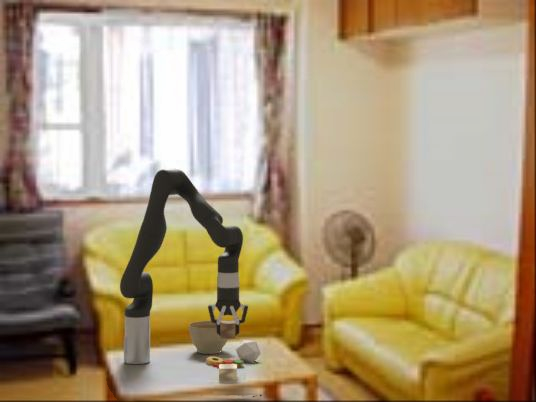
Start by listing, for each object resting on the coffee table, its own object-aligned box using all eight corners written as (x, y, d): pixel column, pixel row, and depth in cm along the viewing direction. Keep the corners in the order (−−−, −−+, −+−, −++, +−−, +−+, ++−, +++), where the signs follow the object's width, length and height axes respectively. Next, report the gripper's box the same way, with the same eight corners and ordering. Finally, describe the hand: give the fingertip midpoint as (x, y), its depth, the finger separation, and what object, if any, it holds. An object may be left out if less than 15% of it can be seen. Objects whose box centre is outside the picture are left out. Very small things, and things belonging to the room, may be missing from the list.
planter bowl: (238, 351, 332) (238, 324, 331) (208, 358, 320) (208, 330, 320) (210, 345, 343) (210, 318, 343) (180, 351, 331) (180, 324, 331)
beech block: (218, 380, 286) (218, 368, 286) (219, 375, 292) (219, 364, 292) (236, 380, 286) (236, 368, 286) (236, 375, 292) (236, 364, 292)
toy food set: (203, 365, 312) (203, 356, 312) (237, 362, 317) (237, 353, 316) (214, 373, 299) (214, 364, 299) (249, 370, 304) (249, 361, 304)
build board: (209, 385, 283) (209, 382, 283) (210, 376, 295) (210, 373, 295) (245, 385, 283) (245, 382, 283) (245, 376, 295) (245, 373, 295)
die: (264, 362, 318) (255, 339, 322) (262, 355, 310) (252, 332, 315) (243, 370, 317) (234, 347, 322) (241, 364, 310) (232, 340, 314)
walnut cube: (220, 338, 286) (220, 323, 285) (220, 335, 291) (220, 321, 290) (235, 338, 286) (235, 323, 285) (235, 335, 291) (235, 320, 290)
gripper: (206, 286, 283) (206, 337, 284) (249, 286, 284) (249, 337, 285) (207, 283, 291) (207, 333, 292) (249, 283, 291) (249, 332, 292)
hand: (228, 334), depth 288 cm, fingers closed on walnut cube, 5 cm apart
